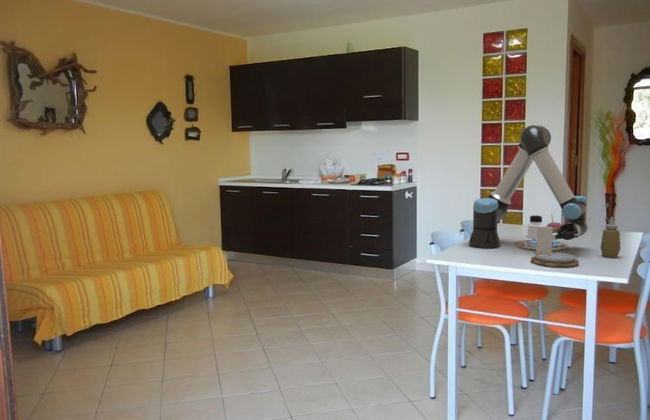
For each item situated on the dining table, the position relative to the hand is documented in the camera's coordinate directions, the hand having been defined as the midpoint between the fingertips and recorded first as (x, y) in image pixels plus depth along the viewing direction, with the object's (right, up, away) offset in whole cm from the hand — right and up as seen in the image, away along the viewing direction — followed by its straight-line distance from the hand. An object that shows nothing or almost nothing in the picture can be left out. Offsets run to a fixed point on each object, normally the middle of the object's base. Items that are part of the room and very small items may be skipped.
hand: (550, 237), depth 244 cm
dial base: (0, -11, -4) cm, 11 cm away
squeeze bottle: (+30, -9, +9) cm, 33 cm away
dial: (0, -9, -5) cm, 10 cm away
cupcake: (+29, -2, +67) cm, 73 cm away
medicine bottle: (+15, -3, +59) cm, 61 cm away
